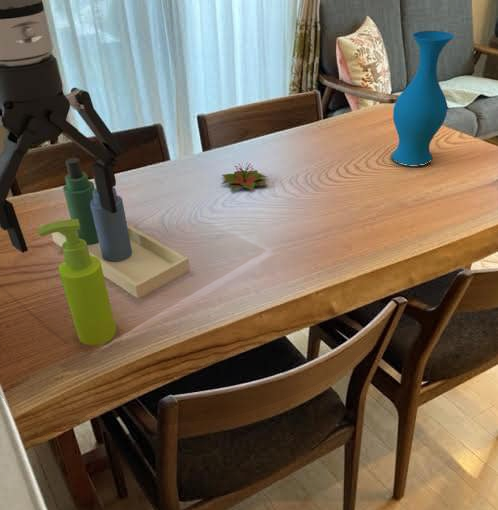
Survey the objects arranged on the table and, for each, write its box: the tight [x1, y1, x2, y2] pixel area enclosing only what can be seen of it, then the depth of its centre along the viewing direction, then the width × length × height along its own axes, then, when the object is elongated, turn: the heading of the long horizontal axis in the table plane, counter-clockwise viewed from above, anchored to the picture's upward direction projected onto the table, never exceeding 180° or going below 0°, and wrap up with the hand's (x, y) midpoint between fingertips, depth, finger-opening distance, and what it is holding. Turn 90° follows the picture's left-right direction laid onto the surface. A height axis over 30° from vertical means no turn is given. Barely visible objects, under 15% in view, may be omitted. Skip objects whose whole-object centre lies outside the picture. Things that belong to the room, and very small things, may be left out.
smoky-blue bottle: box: [90, 175, 132, 262], centre depth 97 cm, size 6×6×16 cm
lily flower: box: [220, 162, 269, 192], centre depth 125 cm, size 12×12×5 cm
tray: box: [51, 223, 190, 299], centre depth 101 cm, size 28×12×3 cm, turn 46°
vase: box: [391, 30, 455, 168], centre depth 125 cm, size 12×13×28 cm
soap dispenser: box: [37, 218, 117, 347], centre depth 78 cm, size 6×7×20 cm
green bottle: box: [62, 157, 99, 245], centre depth 102 cm, size 6×6×16 cm
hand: (67, 228), depth 72 cm, fingers open, 13 cm apart
